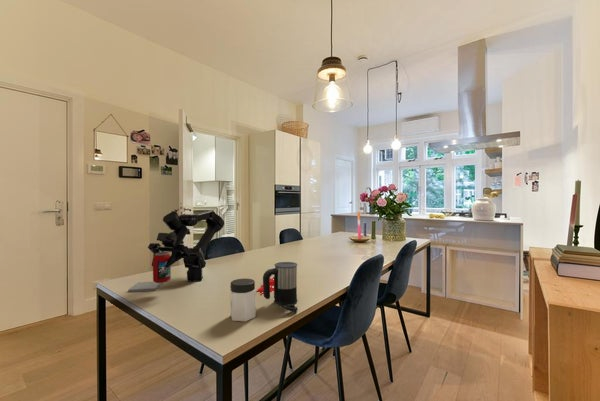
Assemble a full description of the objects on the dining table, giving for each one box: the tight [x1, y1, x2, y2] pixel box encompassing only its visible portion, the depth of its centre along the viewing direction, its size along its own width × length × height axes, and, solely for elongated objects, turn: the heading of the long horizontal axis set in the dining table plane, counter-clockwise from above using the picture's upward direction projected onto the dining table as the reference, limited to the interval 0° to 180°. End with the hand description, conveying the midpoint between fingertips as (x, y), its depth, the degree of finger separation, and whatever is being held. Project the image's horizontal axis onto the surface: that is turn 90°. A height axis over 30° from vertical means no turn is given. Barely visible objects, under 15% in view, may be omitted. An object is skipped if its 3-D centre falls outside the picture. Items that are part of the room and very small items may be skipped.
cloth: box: [255, 276, 274, 296], centre depth 130 cm, size 26×14×2 cm, turn 160°
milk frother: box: [262, 261, 299, 313], centre depth 107 cm, size 14×16×15 cm
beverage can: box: [152, 251, 172, 284], centre depth 120 cm, size 7×7×12 cm
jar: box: [230, 278, 256, 322], centre depth 97 cm, size 9×8×12 cm
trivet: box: [128, 280, 163, 293], centre depth 130 cm, size 11×11×1 cm
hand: (159, 266), depth 118 cm, fingers closed on beverage can, 7 cm apart
